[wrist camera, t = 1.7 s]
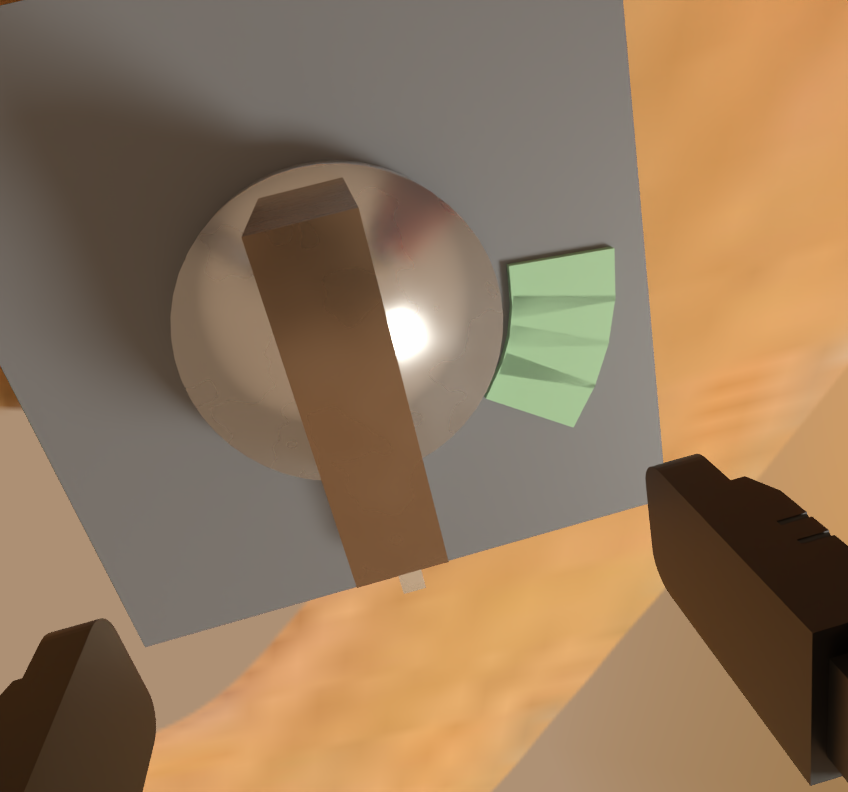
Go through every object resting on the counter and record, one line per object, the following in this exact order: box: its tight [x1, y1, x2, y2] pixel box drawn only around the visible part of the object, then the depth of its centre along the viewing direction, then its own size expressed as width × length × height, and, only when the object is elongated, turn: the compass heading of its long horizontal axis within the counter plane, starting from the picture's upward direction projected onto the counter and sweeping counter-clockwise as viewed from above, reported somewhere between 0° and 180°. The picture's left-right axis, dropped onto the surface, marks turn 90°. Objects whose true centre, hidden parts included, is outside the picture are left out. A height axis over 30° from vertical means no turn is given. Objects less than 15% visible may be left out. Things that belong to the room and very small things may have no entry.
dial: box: [170, 160, 503, 594], centre depth 20 cm, size 14×10×8 cm
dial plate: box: [0, 0, 663, 647], centre depth 24 cm, size 21×21×2 cm
